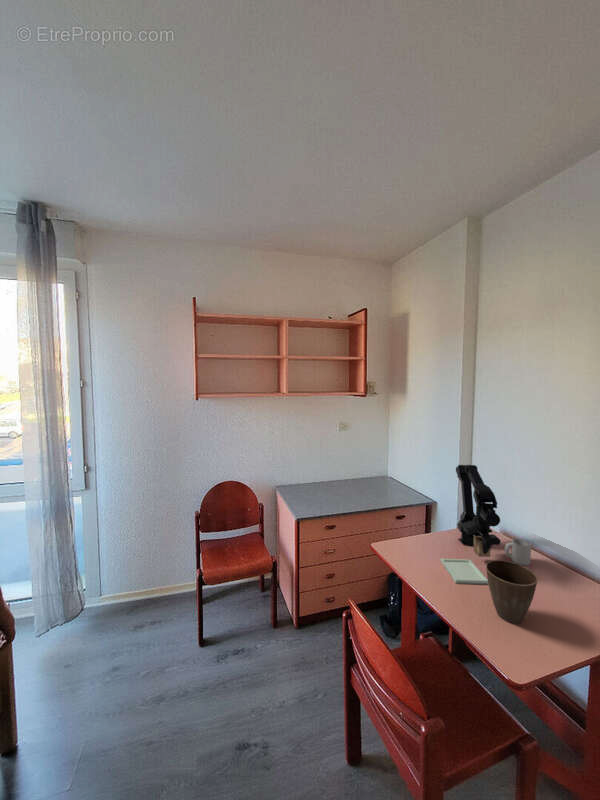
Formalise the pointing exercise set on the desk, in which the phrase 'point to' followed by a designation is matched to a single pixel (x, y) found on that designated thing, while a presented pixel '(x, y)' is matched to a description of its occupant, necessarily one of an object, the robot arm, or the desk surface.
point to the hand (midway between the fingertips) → (481, 550)
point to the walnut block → (480, 547)
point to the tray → (464, 571)
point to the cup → (519, 551)
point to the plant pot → (511, 589)
